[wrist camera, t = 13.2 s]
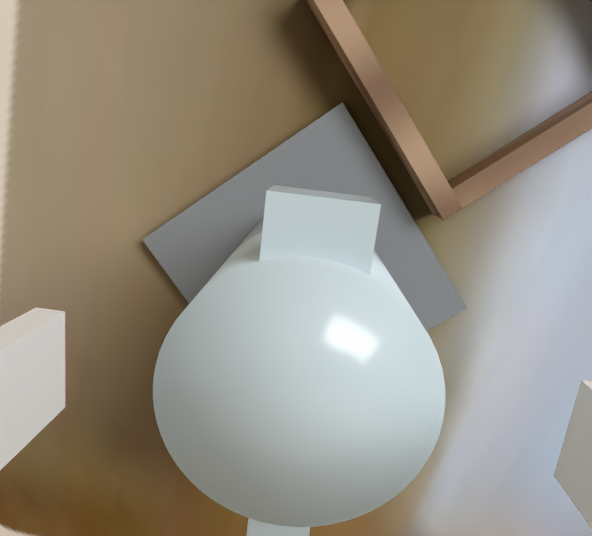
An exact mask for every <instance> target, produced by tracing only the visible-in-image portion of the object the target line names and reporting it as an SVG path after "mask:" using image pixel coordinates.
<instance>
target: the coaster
mask: <svg viewBox="0 0 592 536" xmlns="http://www.w3.org/2000/svg"><path fill="white" fill-rule="evenodd" d="M273 185H277V186H285V187H294V188H302V189H310V190H318V191H326V192H335V193H343V194H351V195H359V196H367V197H372V198H373V199H374V200H376V201H377V202H379V203H380V204H381V208H380V215H379V221H378V227H377V233H376V240H375V246H374V250H375V251H376V253H377V255H378V256H379V258H380V259H381V261H382V262H383V264H384V266H385V267H386V269H387V270H388V272H389V273H390V275H391V277H392V278H393V280H394V281H395V283H396V284H397V286H398V288H399V289H400V291H401V292H402V294H403V295H404V297H405V298H406V300H407V302H408V303H409V305H410V306H411V308H412V309H413V311H414V313H415V314H416V316H417V317H418V319H419V320H420V322H421V324H422V325H423V327H424V328H425V330H426V331H427V330H429V329H431V328H433V327H434V326H436V325H438V324H440V323H441V322H443V321H445V320H447V319H448V318H450V317H452V316H454V315H455V314H457V313H459V312H461V311H462V310H464V309H466V308H467V307H466V306H465V304H464V302H463V301H462V299H461V297H460V296H459V294H458V292H457V291H456V289H455V287H454V286H453V284H452V283H451V281H450V279H449V278H448V276H447V274H446V273H445V271H444V269H443V268H442V266H441V264H440V263H439V261H438V259H437V258H436V256H435V254H434V253H433V251H432V249H431V248H430V246H429V244H428V243H427V241H426V239H425V238H424V236H423V234H422V233H421V231H420V230H419V228H418V226H417V225H416V223H415V221H414V220H413V218H412V216H411V215H410V213H409V211H408V210H407V208H406V206H405V205H404V203H403V201H402V200H401V198H400V196H399V195H398V193H397V191H396V190H395V188H394V186H393V185H392V183H391V181H390V180H389V178H388V177H387V175H386V173H385V172H384V170H383V168H382V167H381V165H380V163H379V162H378V160H377V158H376V157H375V155H374V153H373V152H372V150H371V148H370V147H369V145H368V143H367V142H366V140H365V138H364V137H363V135H362V133H361V132H360V130H359V128H358V127H357V125H356V124H355V122H354V120H353V119H352V117H351V115H350V114H349V112H348V110H347V109H346V107H345V105H344V104H343V102H342V103H341V104H339V105H338V106H336V107H335V108H333V109H332V110H330V111H329V112H327V113H326V114H325V115H323V116H322V117H320V118H319V119H317V120H316V121H314V122H313V123H311V124H310V125H309V126H307V127H306V128H304V129H303V130H301V131H300V132H298V133H297V134H295V135H294V136H292V137H291V138H290V139H288V140H287V141H285V142H284V143H282V144H281V145H279V146H278V147H276V148H275V149H274V150H272V151H271V152H269V153H268V154H266V155H265V156H263V157H262V158H260V159H259V160H257V161H256V162H255V163H253V164H252V165H250V166H249V167H247V168H246V169H244V170H243V171H241V172H240V173H239V174H237V175H236V176H234V177H233V178H231V179H230V180H228V181H227V182H225V183H224V184H222V185H221V186H220V187H218V188H217V189H215V190H214V191H212V192H211V193H209V194H208V195H206V196H205V197H203V198H202V199H201V200H199V201H198V202H196V203H195V204H193V205H192V206H190V207H189V208H187V209H186V210H185V211H183V212H182V213H180V214H179V215H177V216H176V217H174V218H173V219H171V220H170V221H168V222H167V223H166V224H164V225H163V226H161V227H160V228H158V229H157V230H155V231H154V232H152V233H151V234H150V235H148V236H147V237H145V238H144V239H142V240H143V242H144V243H145V244H146V246H147V247H148V248H149V250H150V251H151V253H152V254H153V255H154V257H155V258H156V259H157V261H158V262H159V263H160V265H161V266H162V268H163V269H164V270H165V272H166V273H167V274H168V276H169V277H170V278H171V280H172V281H173V283H174V284H175V285H176V287H177V288H178V289H179V291H180V292H181V293H182V295H183V296H184V298H185V299H186V300H187V302H188V303H189V304H190V303H191V301H192V300H193V299H194V298H195V297H196V296H197V294H198V293H199V292H200V291H201V290H202V288H203V287H204V286H205V285H206V284H207V283H208V281H209V280H210V279H211V278H212V277H213V276H214V274H215V273H216V272H217V271H218V270H219V269H220V267H221V266H222V265H223V264H224V263H225V262H226V260H227V259H228V258H229V257H230V256H231V254H232V253H233V252H234V251H235V250H236V249H237V247H238V246H239V245H240V244H241V243H242V242H243V240H244V239H245V238H246V237H247V236H248V235H249V233H250V232H251V231H252V230H253V229H254V228H255V226H256V225H257V224H258V223H259V222H260V221H262V220H263V219H264V209H265V200H266V190H268V189H269V188H271V187H272V186H273Z"/></svg>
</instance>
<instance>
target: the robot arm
mask: <svg viewBox="0 0 592 536" xmlns="http://www.w3.org/2000/svg"><path fill="white" fill-rule="evenodd" d="M64 408H65V311H58V310H50V309H43V308H34V309H32V310H30V311H28V312H27V313H25V314H23V315H21V316H19V317H17V318H15V319H13V320H11V321H9V322H8V323H6V324H4V325H2V326H0V470H1V469H2V468H3V467H4V466H5V465H6V464H7V463H8V462H9V461H10V460H11V459H12V458H13V457H15V456H16V455H17V454H18V453H19V452H20V451H21V450H22V449H23V448H24V447H25V446H26V445H27V444H28V443H29V442H30V441H31V440H32V439H33V438H34V437H35V436H36V435H37V434H38V433H39V432H40V431H41V430H42V429H43V428H44V427H45V426H46V425H47V424H49V423H50V422H51V421H52V420H53V419H54V418H55V417H56V416H57V415H58V414H59V413H60V412H61V411H62V410H63V409H64ZM554 477H555V478H556V479H557V481H558V482H559V484H560V485H561V486H562V488H563V489H564V490H565V492H566V493H567V495H568V496H569V497H570V499H571V500H572V502H573V503H574V504H575V506H576V507H577V509H578V510H579V511H580V513H581V514H582V516H583V517H584V518H585V520H586V521H587V523H588V524H589V525H590V527H591V528H592V382H590V381H583V380H581V384H580V387H579V391H578V394H577V397H576V401H575V404H574V408H573V411H572V415H571V418H570V422H569V425H568V428H567V432H566V435H565V439H564V442H563V446H562V449H561V453H560V456H559V459H558V463H557V466H556V470H555V473H554Z"/></svg>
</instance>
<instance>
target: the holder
mask: <svg viewBox="0 0 592 536" xmlns="http://www.w3.org/2000/svg"><path fill="white" fill-rule="evenodd" d="M306 2H307V3H308V5H309V7H310V8H311V10H312V12H313V13H314V15H315V17H316V18H317V20H318V22H319V24H320V25H321V27H322V29H323V30H324V32H325V34H326V35H327V37H328V39H329V40H330V42H331V44H332V45H333V47H334V49H335V50H336V52H337V54H338V56H339V57H340V59H341V61H342V62H343V64H344V66H345V67H346V69H347V71H348V72H349V74H350V76H351V77H352V79H353V81H354V83H355V84H356V86H357V88H358V89H359V91H360V93H361V94H362V96H363V98H364V99H365V101H366V103H367V104H368V106H369V108H370V109H371V111H372V113H373V115H374V116H375V118H376V120H377V121H378V123H379V125H380V126H381V128H382V130H383V131H384V133H385V135H386V136H387V138H388V140H389V141H390V143H391V145H392V147H393V148H394V150H395V152H396V153H397V155H398V157H399V158H400V160H401V162H402V163H403V165H404V167H405V168H406V170H407V172H408V173H409V175H410V177H411V179H412V180H413V182H414V184H415V185H416V187H417V189H418V190H419V192H420V194H421V195H422V197H423V199H424V200H425V202H426V204H427V205H428V207H429V209H430V211H431V212H432V214H433V215H435V216H437V217H439V218H441V219H443V220H444V219H445V218H447V217H448V216H450V215H452V214H453V213H455V212H457V211H458V210H460V209H461V208H463V207H465V206H466V205H468V204H470V203H471V202H473V201H475V200H476V199H478V198H479V197H481V196H483V195H484V194H486V193H488V192H489V191H491V190H492V189H494V188H496V187H497V186H499V185H501V184H502V183H504V182H506V181H507V180H509V179H510V178H512V177H514V176H515V175H517V174H519V173H520V172H522V171H523V170H525V169H527V168H528V167H530V166H532V165H533V164H535V163H537V162H538V161H540V160H541V159H543V158H545V157H546V156H548V155H550V154H551V153H553V152H554V151H556V150H558V149H559V148H561V147H563V146H564V145H566V144H568V143H569V142H571V141H572V140H574V139H576V138H577V137H579V136H581V135H582V134H584V133H586V132H587V131H589V130H590V129H592V92H590V93H589V94H587V95H586V96H584V97H582V98H581V99H579V100H578V101H576V102H574V103H573V104H571V105H570V106H568V107H566V108H565V109H563V110H562V111H560V112H558V113H557V114H555V115H554V116H552V117H550V118H549V119H547V120H546V121H544V122H542V123H541V124H539V125H538V126H536V127H534V128H533V129H531V130H530V131H528V132H527V133H525V134H523V135H522V136H520V137H519V138H517V139H515V140H514V141H512V142H511V143H509V144H507V145H506V146H504V147H503V148H501V149H499V150H498V151H496V152H495V153H493V154H491V155H490V156H488V157H487V158H485V159H483V160H482V161H480V162H479V163H477V164H475V165H474V166H472V167H471V168H469V169H467V170H466V171H464V172H463V173H461V174H459V175H458V176H456V177H455V178H453V179H451V180H450V181H447V180H446V178H445V176H444V175H443V173H442V171H441V169H440V168H439V166H438V164H437V162H436V161H435V159H434V157H433V156H432V154H431V152H430V150H429V149H428V147H427V145H426V143H425V142H424V140H423V138H422V137H421V135H420V133H419V131H418V130H417V128H416V126H415V124H414V123H413V121H412V119H411V117H410V116H409V114H408V112H407V111H406V109H405V107H404V105H403V104H402V102H401V100H400V98H399V97H398V95H397V93H396V92H395V90H394V88H393V86H392V85H391V83H390V81H389V79H388V78H387V76H386V74H385V73H384V71H383V69H382V67H381V66H380V64H379V62H378V60H377V59H376V57H375V55H374V54H373V52H372V50H371V48H370V47H369V45H368V43H367V41H366V40H365V38H364V36H363V35H362V33H361V31H360V29H359V28H358V26H357V24H356V22H355V21H354V19H353V17H352V15H351V14H350V12H349V10H348V9H347V7H346V5H345V3H344V2H343V0H306Z"/></svg>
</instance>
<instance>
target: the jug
mask: <svg viewBox="0 0 592 536" xmlns="http://www.w3.org/2000/svg"><path fill="white" fill-rule="evenodd" d="M380 208H381V204H380V203H379V202H377V201H376V200H374V199H373V198H372V197H367V196H359V195H351V194H343V193H335V192H326V191H318V190H310V189H302V188H294V187H285V186H277V185H273V186H272V187H271V188H269V189H268V190H266V200H265V209H264V219H263V220H262V221H260V222H259V223H258V224H257V225H256V226H255V228H254V229H253V230H252V231H251V232H250V233H249V235H248V236H247V237H246V238H245V239H244V240H243V242H242V243H241V244H240V245H239V246H238V247H237V249H236V250H235V251H234V252H233V253H232V254H231V256H230V257H229V258H228V259H227V260H226V262H225V263H224V264H223V265H222V266H221V267H220V269H219V270H218V271H217V272H216V273H215V274H214V276H213V277H212V278H211V279H210V280H209V281H208V283H207V284H206V285H205V286H204V287H203V288H202V290H201V291H200V292H199V293H198V294H197V296H196V297H195V298H194V299H193V300H192V301H191V303H190V304H189V305H188V306H187V307H186V308H185V310H184V311H183V312H182V313H181V314H180V316H179V317H178V318H177V319H176V321H175V322H174V324H173V325H172V327H171V329H170V330H169V332H168V334H167V335H166V338H165V340H164V342H163V344H162V347H161V349H160V351H159V355H158V359H157V362H156V366H155V371H154V379H153V405H154V411H155V417H156V422H157V425H158V428H159V431H160V434H161V437H162V439H163V441H164V444H165V446H166V448H167V450H168V452H169V454H170V455H171V457H172V458H173V460H174V461H175V463H176V465H177V466H178V467H179V469H180V470H181V471H182V472H183V473H184V475H185V476H186V477H187V478H188V479H189V480H190V481H191V482H192V483H193V484H194V485H195V486H196V487H197V488H198V489H199V490H200V491H201V492H203V493H204V494H205V495H207V496H208V497H210V498H211V499H212V500H214V501H215V502H217V503H218V504H220V505H222V506H224V507H225V508H227V509H229V510H231V511H233V512H235V513H238V514H240V515H242V516H245V517H247V518H248V527H247V536H309V532H310V527H318V526H324V525H331V524H336V523H340V522H344V521H348V520H351V519H354V518H356V517H359V516H361V515H364V514H367V513H369V512H371V511H372V510H374V509H376V508H378V507H380V506H382V505H384V504H385V503H386V502H388V501H389V500H391V499H392V498H393V497H395V496H396V495H398V494H399V493H400V492H401V491H402V490H403V489H404V488H405V487H406V486H407V485H409V484H410V483H411V482H412V480H413V479H414V478H415V477H416V476H417V474H418V473H419V472H420V471H421V470H422V468H423V467H424V465H425V463H426V462H427V460H428V459H429V457H430V455H431V453H432V451H433V449H434V447H435V445H436V442H437V440H438V437H439V434H440V431H441V427H442V424H443V418H444V411H445V383H444V376H443V370H442V367H441V363H440V360H439V357H438V354H437V351H436V349H435V347H434V345H433V343H432V340H431V338H430V336H429V335H428V333H427V331H426V330H425V328H424V327H423V325H422V324H421V322H420V320H419V319H418V317H417V316H416V314H415V313H414V311H413V309H412V308H411V306H410V305H409V303H408V302H407V300H406V298H405V297H404V295H403V294H402V292H401V291H400V289H399V288H398V286H397V284H396V283H395V281H394V280H393V278H392V277H391V275H390V273H389V272H388V270H387V269H386V267H385V266H384V264H383V262H382V261H381V259H380V258H379V256H378V255H377V253H376V251H375V250H374V246H375V240H376V233H377V227H378V221H379V215H380Z"/></svg>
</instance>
